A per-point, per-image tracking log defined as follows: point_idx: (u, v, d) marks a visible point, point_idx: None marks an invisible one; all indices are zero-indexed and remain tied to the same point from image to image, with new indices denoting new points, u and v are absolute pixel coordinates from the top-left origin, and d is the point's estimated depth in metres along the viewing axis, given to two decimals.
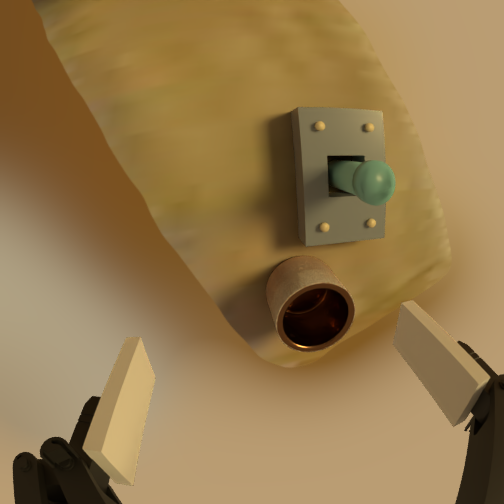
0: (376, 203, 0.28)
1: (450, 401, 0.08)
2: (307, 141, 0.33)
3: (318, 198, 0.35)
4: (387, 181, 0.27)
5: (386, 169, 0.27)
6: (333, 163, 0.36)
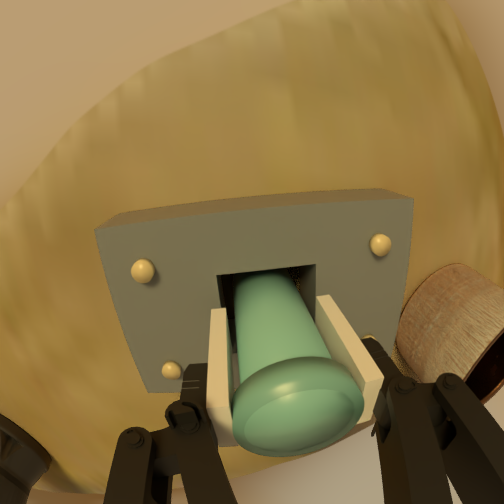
0: (357, 414, 0.09)
1: None
2: None
3: None
4: (298, 403, 0.08)
5: (257, 413, 0.08)
6: None
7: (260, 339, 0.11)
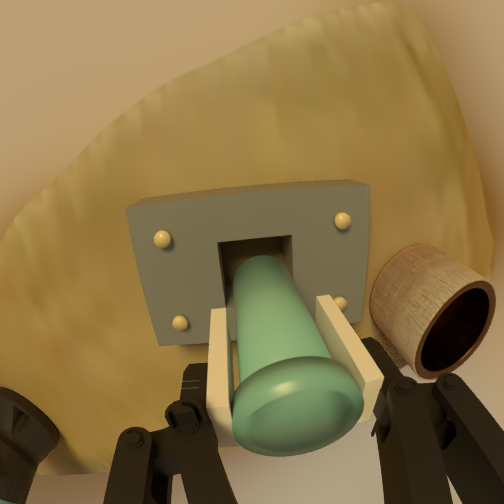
0: (356, 414, 0.09)
1: None
2: (207, 334, 0.23)
3: None
4: (298, 403, 0.08)
5: (257, 413, 0.08)
6: None
7: (260, 338, 0.11)
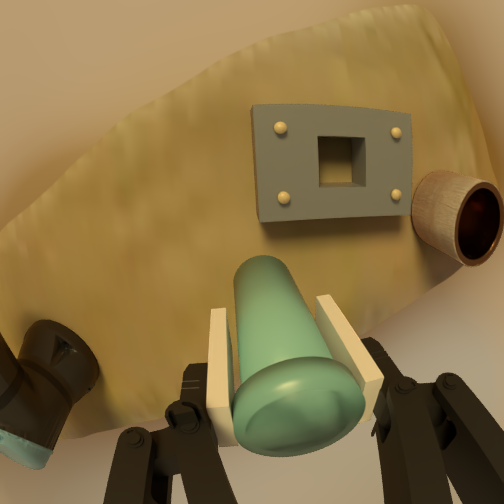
0: (358, 414, 0.09)
1: None
2: (302, 211, 0.29)
3: (366, 199, 0.29)
4: (300, 403, 0.08)
5: (259, 413, 0.08)
6: None
7: (261, 339, 0.11)
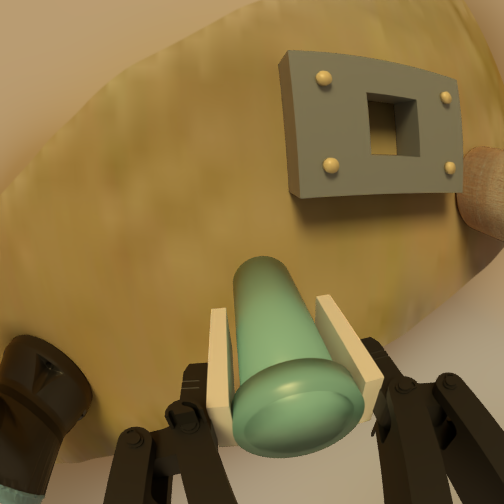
0: (357, 415, 0.09)
1: None
2: (352, 184, 0.22)
3: (421, 172, 0.22)
4: (298, 405, 0.08)
5: (258, 414, 0.08)
6: None
7: (260, 340, 0.11)
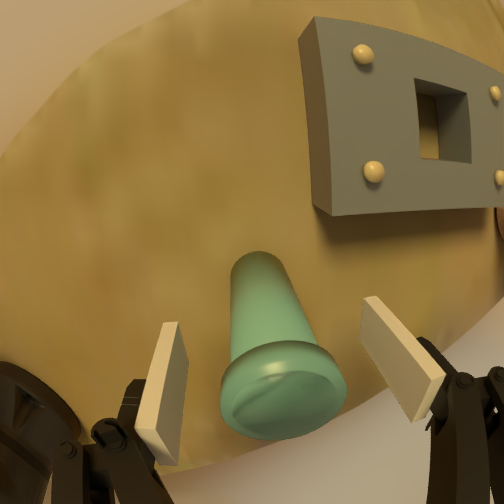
0: (340, 399, 0.10)
1: (407, 397, 0.09)
2: (397, 197, 0.15)
3: (472, 182, 0.16)
4: (281, 384, 0.09)
5: (243, 392, 0.09)
6: None
7: (250, 326, 0.12)
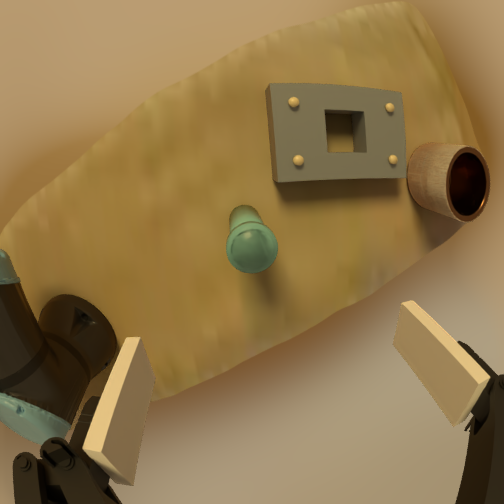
0: (275, 248, 0.27)
1: (450, 401, 0.08)
2: (314, 172, 0.33)
3: (368, 163, 0.33)
4: (249, 235, 0.26)
5: (235, 239, 0.26)
6: None
7: (238, 223, 0.29)
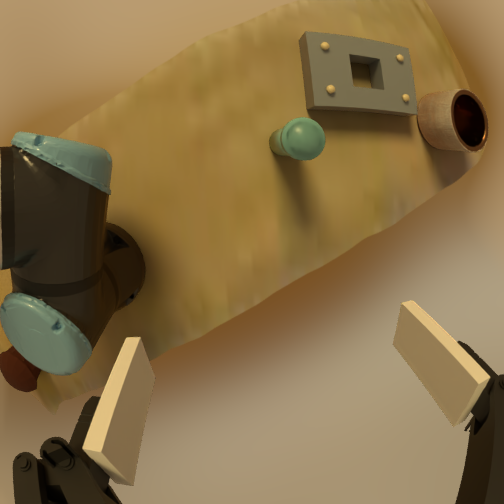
0: (323, 139, 0.29)
1: (450, 401, 0.08)
2: (343, 100, 0.35)
3: (386, 98, 0.35)
4: (302, 126, 0.28)
5: (290, 128, 0.28)
6: (274, 150, 0.38)
7: None
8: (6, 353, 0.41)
